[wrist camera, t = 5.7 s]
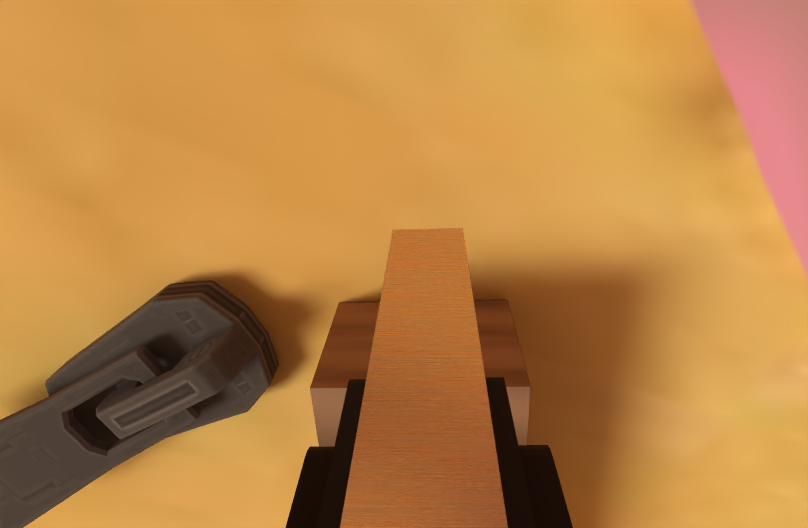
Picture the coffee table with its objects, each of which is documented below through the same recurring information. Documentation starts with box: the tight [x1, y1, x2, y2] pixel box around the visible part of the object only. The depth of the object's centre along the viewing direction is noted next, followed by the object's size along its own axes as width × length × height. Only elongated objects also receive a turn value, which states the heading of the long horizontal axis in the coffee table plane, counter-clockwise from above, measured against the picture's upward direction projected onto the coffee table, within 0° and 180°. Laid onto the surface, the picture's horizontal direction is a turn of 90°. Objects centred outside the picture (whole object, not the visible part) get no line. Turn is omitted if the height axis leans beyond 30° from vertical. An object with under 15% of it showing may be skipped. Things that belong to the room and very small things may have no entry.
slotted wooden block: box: [310, 300, 531, 447], centre depth 32 cm, size 22×10×8 cm, turn 3°
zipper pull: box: [0, 281, 279, 528], centre depth 32 cm, size 9×7×25 cm
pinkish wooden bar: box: [340, 228, 508, 528], centre depth 10 cm, size 4×2×12 cm, turn 2°
